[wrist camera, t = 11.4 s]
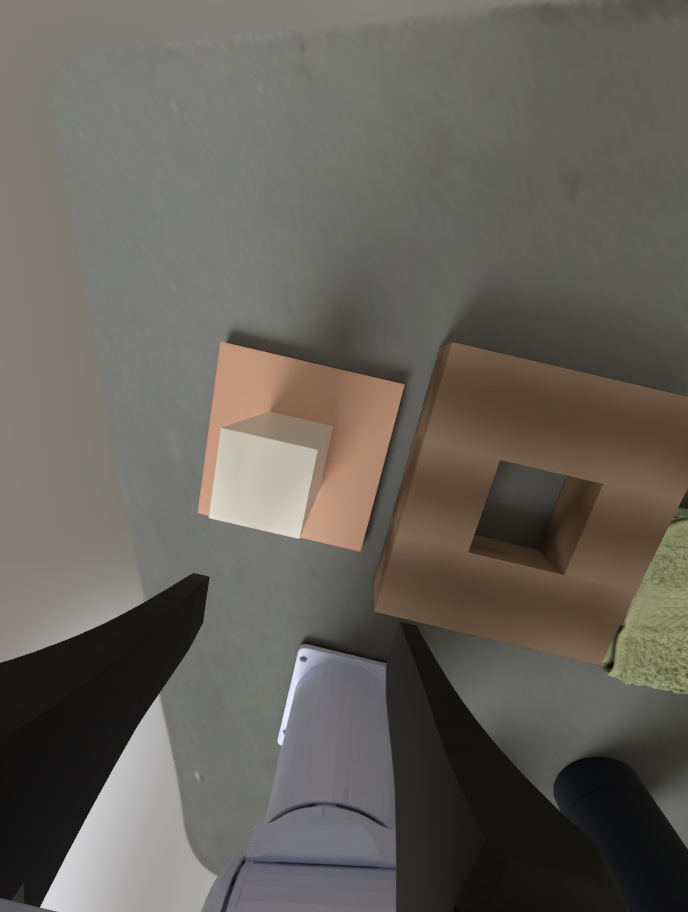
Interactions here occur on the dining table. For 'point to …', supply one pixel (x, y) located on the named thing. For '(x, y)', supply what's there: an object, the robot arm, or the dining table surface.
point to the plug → (269, 472)
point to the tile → (320, 400)
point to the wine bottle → (627, 833)
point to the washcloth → (657, 620)
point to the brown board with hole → (573, 519)
